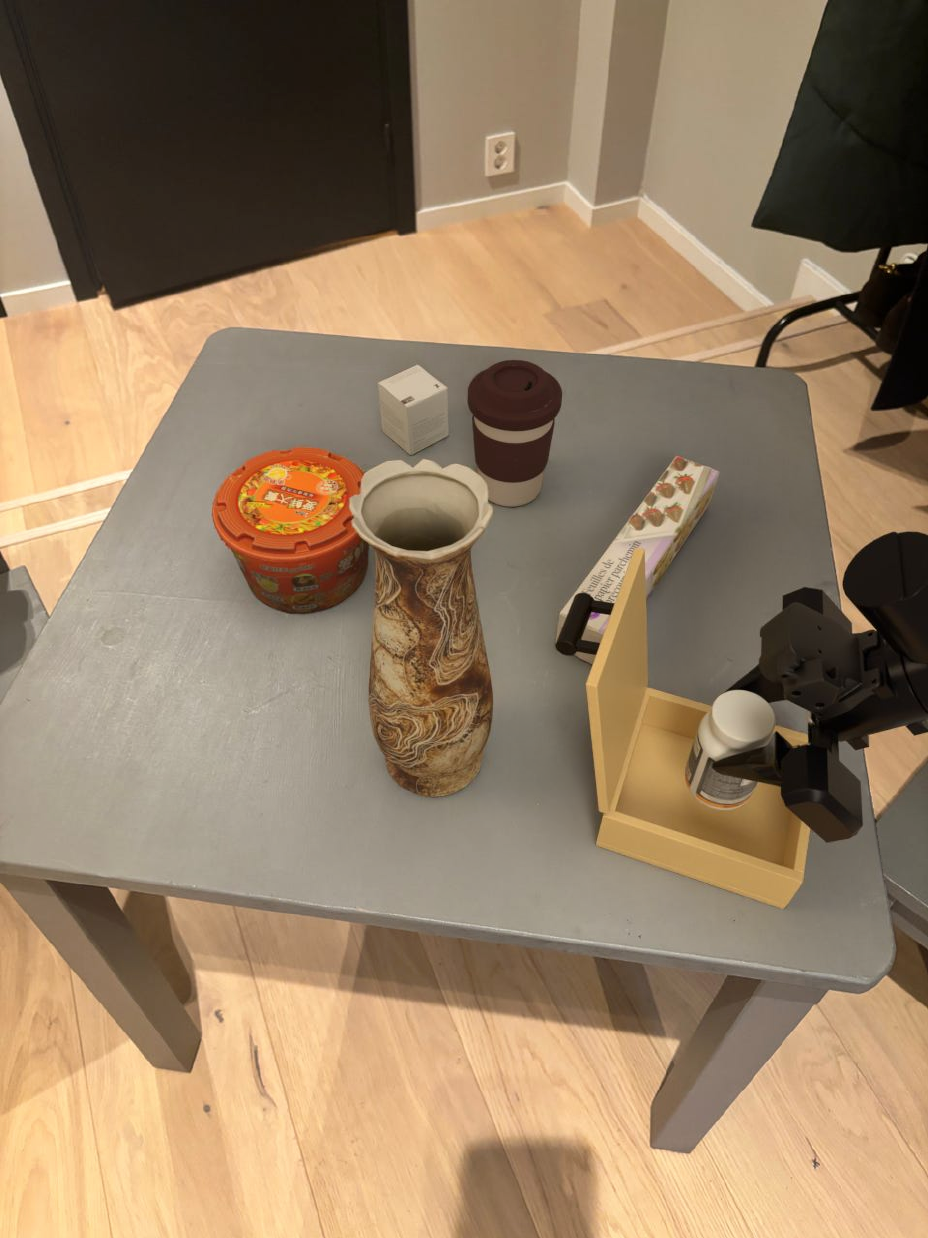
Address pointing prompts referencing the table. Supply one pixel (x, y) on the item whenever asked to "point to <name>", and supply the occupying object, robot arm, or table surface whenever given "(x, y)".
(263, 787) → the table surface
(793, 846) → the shallow kraft tray
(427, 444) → the product carton
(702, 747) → the pill bottle
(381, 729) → the vase
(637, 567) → the upright wooden panel
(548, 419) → the coffee cup
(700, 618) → the table surface
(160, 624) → the table surface
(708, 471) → the box
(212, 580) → the table surface
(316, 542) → the food container
